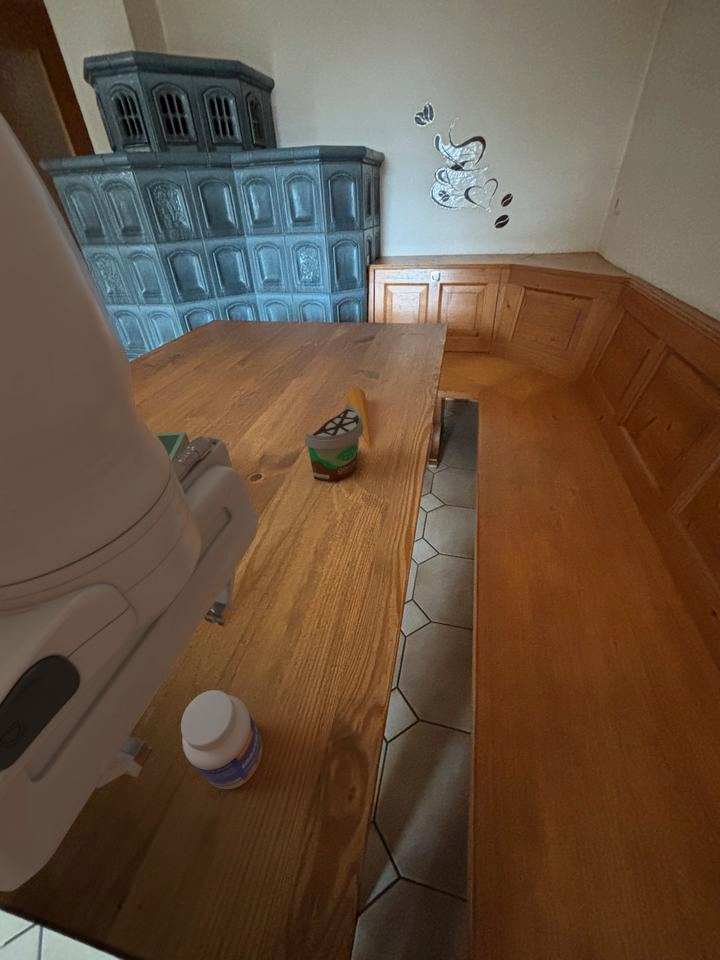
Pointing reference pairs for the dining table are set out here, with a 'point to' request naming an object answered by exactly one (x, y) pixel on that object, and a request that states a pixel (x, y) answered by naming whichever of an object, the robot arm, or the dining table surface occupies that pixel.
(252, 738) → the pill bottle
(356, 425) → the food container
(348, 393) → the carrot
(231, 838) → the dining table surface
